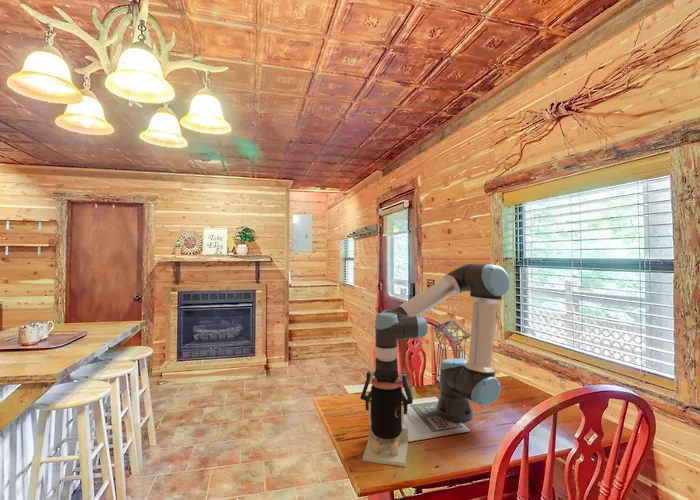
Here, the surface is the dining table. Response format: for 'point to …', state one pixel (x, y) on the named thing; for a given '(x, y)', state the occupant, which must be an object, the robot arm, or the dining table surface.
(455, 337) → the geometric lantern
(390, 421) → the coffee jar
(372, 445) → the peg stand
